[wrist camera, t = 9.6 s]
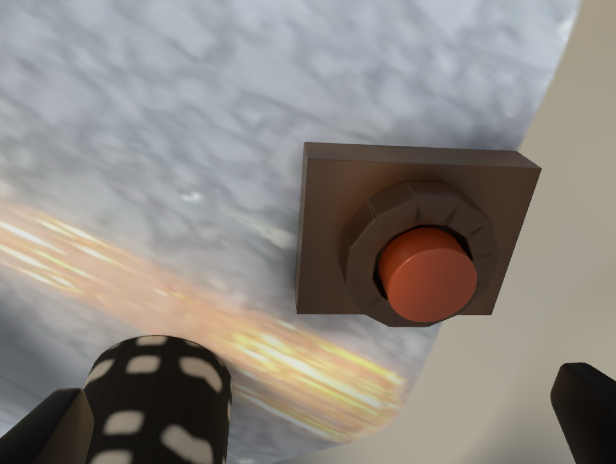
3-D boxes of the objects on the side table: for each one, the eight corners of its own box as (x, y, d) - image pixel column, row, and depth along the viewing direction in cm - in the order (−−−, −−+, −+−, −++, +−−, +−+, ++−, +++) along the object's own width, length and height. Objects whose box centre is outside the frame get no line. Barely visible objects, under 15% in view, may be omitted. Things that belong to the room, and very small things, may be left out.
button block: (294, 287, 24) (298, 340, 20) (304, 141, 20) (311, 175, 16) (474, 289, 25) (507, 340, 21) (517, 151, 21) (567, 185, 17)
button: (372, 296, 20) (381, 322, 18) (385, 225, 18) (395, 247, 16) (450, 297, 20) (465, 322, 19) (470, 227, 18) (488, 249, 17)
